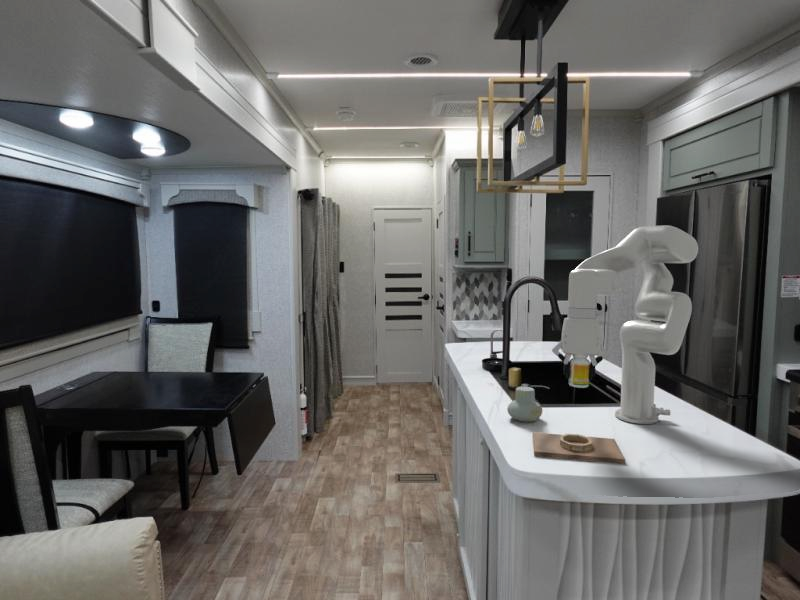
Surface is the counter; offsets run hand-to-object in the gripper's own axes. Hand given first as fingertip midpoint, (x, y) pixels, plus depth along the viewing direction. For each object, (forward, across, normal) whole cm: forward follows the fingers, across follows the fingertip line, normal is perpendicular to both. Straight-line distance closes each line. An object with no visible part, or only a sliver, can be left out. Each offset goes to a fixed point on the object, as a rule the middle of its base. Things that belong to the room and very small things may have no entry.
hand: (579, 377), depth 136 cm
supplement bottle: (+2, 0, 0) cm, 2 cm away
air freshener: (+18, +14, -15) cm, 28 cm away
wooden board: (+18, +1, +7) cm, 19 cm away
